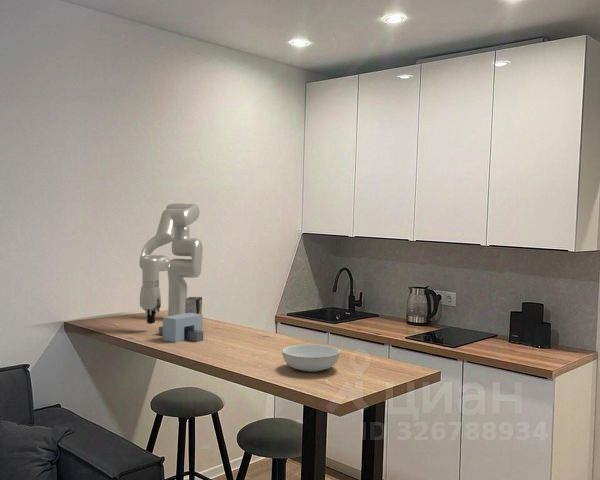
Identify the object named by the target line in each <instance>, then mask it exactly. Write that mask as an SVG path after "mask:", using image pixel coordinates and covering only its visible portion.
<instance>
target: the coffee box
mask: <svg viewBox="0 0 600 480" xmlns="http://www.w3.org/2000/svg"><path fill="white" fill-rule="evenodd" d="M202 310H203V297H202V296H189V297H187V299H185V313H195V314H201V315H203V312H202Z"/></svg>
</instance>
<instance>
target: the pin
mask: <svg viewBox="0 0 600 480" xmlns="http://www.w3.org/2000/svg"><path fill="white" fill-rule="evenodd" d="M159 334H160V336H163V325H162V326H158V335H159ZM184 341H190V342H193V343H194V342H195V343H199V342H203V341H204V331H203V330H202V331H198V330H192V329H186V328H184Z"/></svg>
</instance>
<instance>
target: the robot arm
mask: <svg viewBox="0 0 600 480" xmlns="http://www.w3.org/2000/svg"><path fill="white" fill-rule="evenodd" d="M200 211H201V210H200V207H199V206H198V205H197V204H196V203H180V202H179V203H170V204H168V205H166V207H165V210H163V211H162V213H161V217H160V220H159V223H158V227H157V230H156V234H155V235H154V236H153V237H151V238H150V239H149V240H148V241H147V242H146V243H145V244H144V246H143V247H142V250H141V253H140V257H139V261H138V263H139V268H140V269H141V270H142V271H141V274H142V275H141V277H142V278H141V281H142V282H141V283H142V285H141V287H140V293H139V307H140V308H141V309H142V310H144V311H145V314H146V323H147V324H149V325H152V324H155V321H156V317H155V316H156V313H158V312H159V313H160V308H161V307H162V298H161V289H160V272H165V271H167V278H168V297H167V298H168V302H167V303H168V304H167V307H168V309H167V310H168V311H167V312H168V313H167V316H173V315H179V314H185V299H187V298H188V284H187V281H186V280H185V279H184V278H188V279H189V278H190V279H191V278H193V279H196V278H199V277H200V275H201V273H202V264H203V263H202V262H203V251H204V250H203V247H204V246H203V242H202V241H201V239H199V238H196V237H195V238H193V237H190V225H191V224H193V223H194V222H196V221H197V220H198V218H199V216H200V213H201V212H200ZM169 243H171V253H172V255H174V256H178V257H190V258H172V259H171V258H169V257H168V256H167V255H157V254H152V253H153V251H155V250H156V249H158V248H159V247H163V246H165V245H167V244H169Z"/></svg>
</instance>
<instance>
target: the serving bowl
mask: <svg viewBox="0 0 600 480" xmlns="http://www.w3.org/2000/svg"><path fill="white" fill-rule="evenodd" d="M281 352H282V353H281V354H282V358H283V360H284V362H285V363H286V365H288V366H289V367H291V368H293V369H295V370H297V371H302V372H306V371H307V373H308V372H309V373H313V372H316V373H317V372H321V371H324V370H327V369H330V368H332V367H334V366H335V365H336V364H337V363H338V360H339V357H340V355H341V354H340V353H341V351H340V349H339V348H337V347H335V346H331V345H327V344H318V343H316V344H315V343H304V344H294V345H289V346H286V347H284V348H283V349H282V350H281Z"/></svg>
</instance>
